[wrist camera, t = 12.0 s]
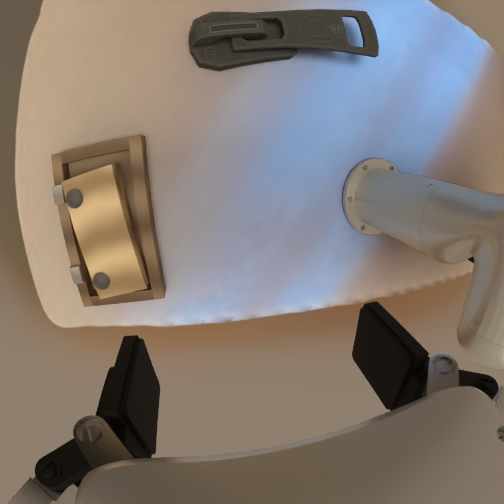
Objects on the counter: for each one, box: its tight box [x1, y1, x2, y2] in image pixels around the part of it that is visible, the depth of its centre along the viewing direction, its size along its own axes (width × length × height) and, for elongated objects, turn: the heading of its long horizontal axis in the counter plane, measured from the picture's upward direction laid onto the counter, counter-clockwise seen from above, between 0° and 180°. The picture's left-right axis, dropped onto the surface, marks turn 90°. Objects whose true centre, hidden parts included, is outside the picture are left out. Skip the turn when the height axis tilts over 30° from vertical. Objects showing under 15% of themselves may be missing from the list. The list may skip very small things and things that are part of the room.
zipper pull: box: [189, 9, 379, 71], centre depth 27 cm, size 9×7×25 cm
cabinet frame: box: [51, 135, 166, 307], centre depth 33 cm, size 22×12×4 cm, turn 3°
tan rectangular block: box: [62, 163, 149, 299], centre depth 32 cm, size 16×7×4 cm, turn 10°
